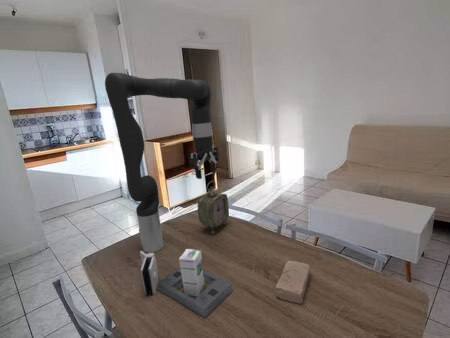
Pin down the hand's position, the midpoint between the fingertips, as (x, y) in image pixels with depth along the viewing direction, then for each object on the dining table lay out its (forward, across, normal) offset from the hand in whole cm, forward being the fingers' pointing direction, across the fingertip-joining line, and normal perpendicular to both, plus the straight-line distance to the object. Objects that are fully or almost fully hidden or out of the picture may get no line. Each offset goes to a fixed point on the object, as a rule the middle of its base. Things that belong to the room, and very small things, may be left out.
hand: (206, 175), depth 107 cm
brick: (+35, +1, +37) cm, 51 cm away
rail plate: (+34, +22, +10) cm, 42 cm away
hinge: (+34, +28, -7) cm, 45 cm away
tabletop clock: (+34, -16, -13) cm, 40 cm away
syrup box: (+34, +22, +10) cm, 42 cm away
